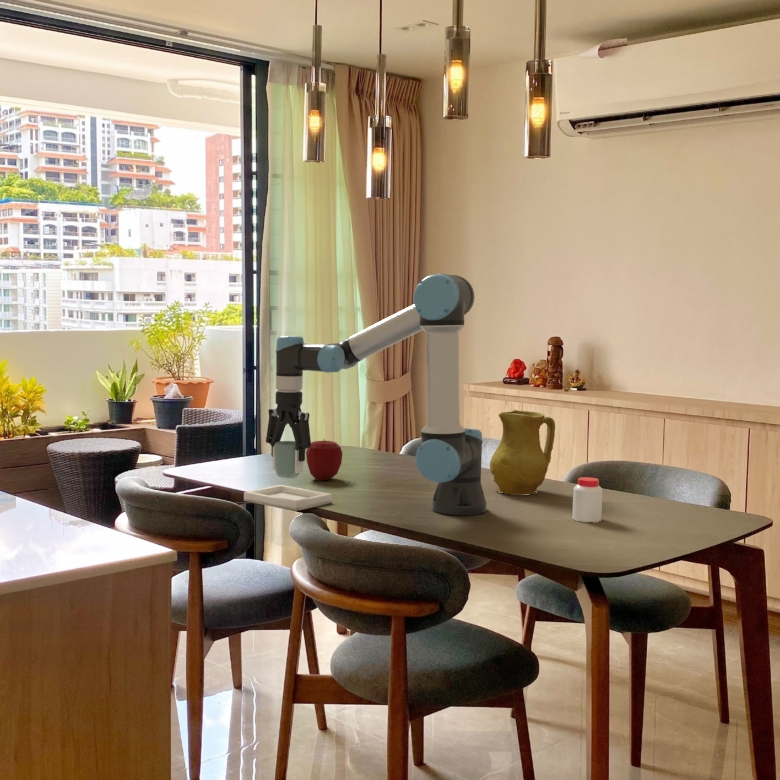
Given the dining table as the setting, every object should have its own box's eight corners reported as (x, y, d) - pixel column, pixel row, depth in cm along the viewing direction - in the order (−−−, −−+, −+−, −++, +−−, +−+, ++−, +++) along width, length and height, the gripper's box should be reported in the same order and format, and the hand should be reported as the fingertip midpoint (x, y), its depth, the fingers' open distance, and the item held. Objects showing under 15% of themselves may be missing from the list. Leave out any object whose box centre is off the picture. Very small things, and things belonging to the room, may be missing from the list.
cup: (297, 480, 273) (297, 445, 273) (270, 479, 275) (270, 444, 274) (305, 476, 281) (305, 441, 280) (279, 474, 283) (279, 440, 282)
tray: (331, 502, 278) (331, 494, 278) (295, 511, 267) (295, 502, 266) (280, 493, 291) (280, 484, 290) (243, 500, 279) (244, 492, 278)
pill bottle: (595, 524, 259) (597, 482, 258) (567, 519, 263) (569, 479, 262) (605, 518, 266) (607, 478, 264) (578, 514, 270) (580, 475, 269)
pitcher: (490, 483, 310) (497, 405, 307) (550, 490, 306) (557, 411, 303) (484, 495, 293) (491, 413, 290) (547, 502, 290) (554, 419, 286)
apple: (333, 484, 306) (334, 441, 305) (299, 481, 310) (299, 439, 308) (347, 477, 317) (348, 436, 316) (314, 474, 321) (315, 434, 320)
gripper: (325, 392, 272) (324, 473, 275) (271, 387, 285) (270, 464, 287) (307, 394, 266) (305, 477, 269) (253, 388, 279) (252, 467, 281)
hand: (287, 470), depth 278 cm, fingers closed on cup, 8 cm apart
